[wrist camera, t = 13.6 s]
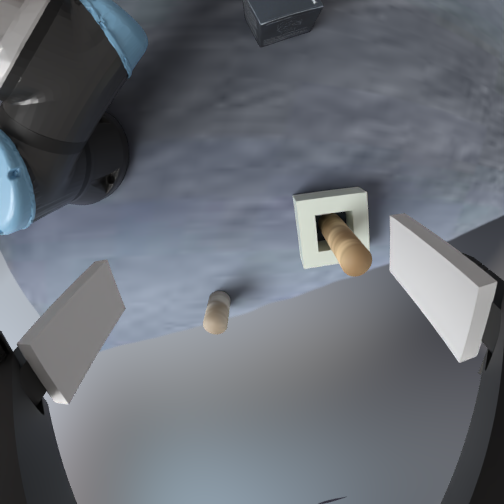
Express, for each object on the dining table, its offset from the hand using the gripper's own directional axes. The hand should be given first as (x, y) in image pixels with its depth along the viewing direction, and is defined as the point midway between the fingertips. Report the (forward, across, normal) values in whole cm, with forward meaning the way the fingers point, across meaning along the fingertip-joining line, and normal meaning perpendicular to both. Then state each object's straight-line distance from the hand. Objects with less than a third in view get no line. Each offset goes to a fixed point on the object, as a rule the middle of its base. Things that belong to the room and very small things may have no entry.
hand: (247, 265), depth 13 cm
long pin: (+32, +10, -10) cm, 35 cm away
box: (+32, +7, +21) cm, 39 cm away
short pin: (+32, -9, -20) cm, 39 cm away
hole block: (+32, +10, -10) cm, 35 cm away
